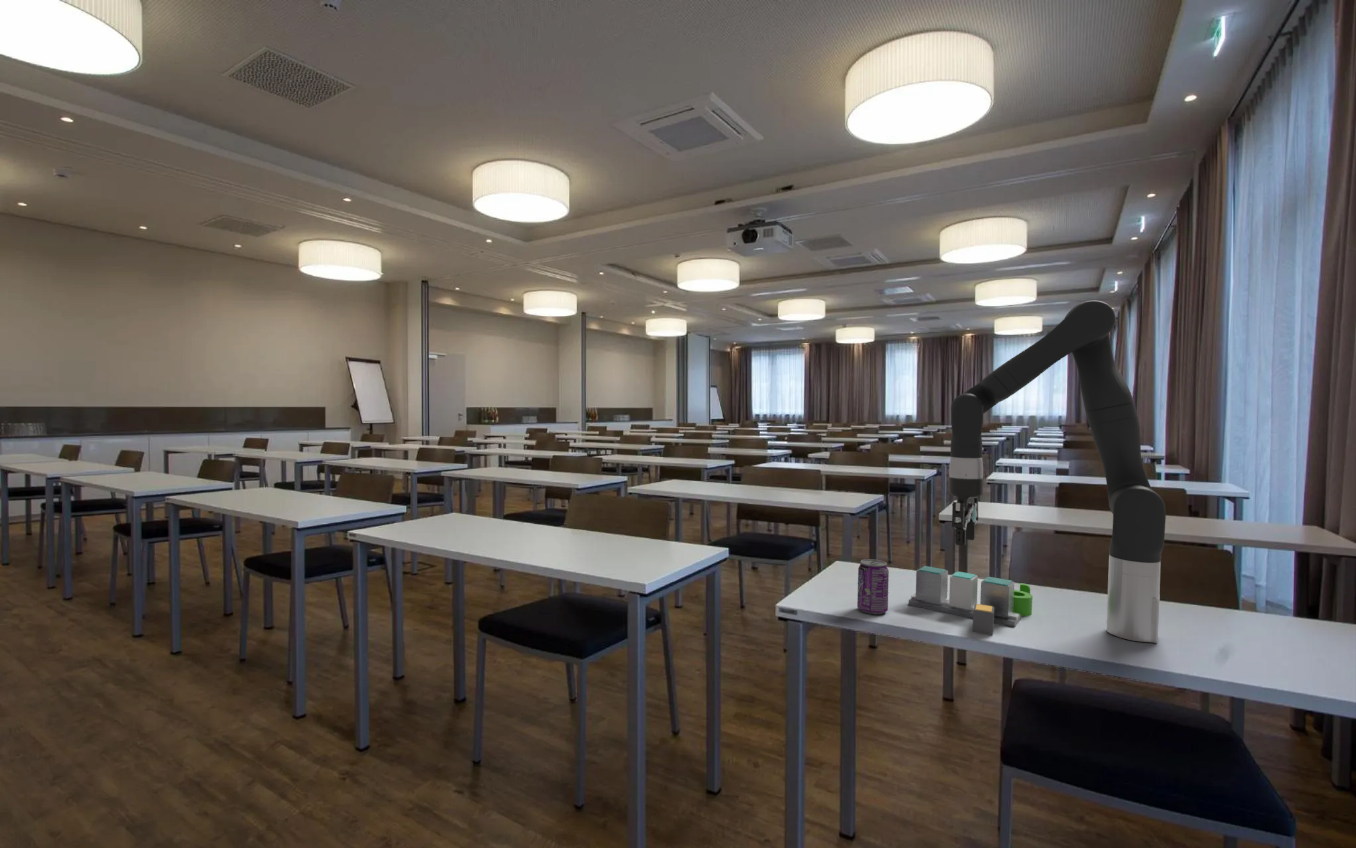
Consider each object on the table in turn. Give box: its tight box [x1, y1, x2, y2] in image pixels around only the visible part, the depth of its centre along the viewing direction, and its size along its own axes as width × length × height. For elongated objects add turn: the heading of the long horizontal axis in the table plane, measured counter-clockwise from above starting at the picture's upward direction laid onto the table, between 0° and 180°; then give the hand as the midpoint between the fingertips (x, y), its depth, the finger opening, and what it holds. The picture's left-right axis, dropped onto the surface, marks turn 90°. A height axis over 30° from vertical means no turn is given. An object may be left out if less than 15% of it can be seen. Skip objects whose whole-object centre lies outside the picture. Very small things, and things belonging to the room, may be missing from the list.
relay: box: [972, 603, 995, 636], centre depth 140 cm, size 4×5×5 cm
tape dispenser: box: [1013, 582, 1033, 617], centre depth 157 cm, size 15×7×5 cm, turn 151°
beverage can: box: [856, 558, 890, 615], centre depth 152 cm, size 7×7×12 cm
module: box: [948, 570, 979, 609], centre depth 152 cm, size 5×6×7 cm
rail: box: [908, 565, 1022, 628], centre depth 152 cm, size 24×7×9 cm, turn 51°
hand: (965, 542), depth 152 cm, fingers open, 8 cm apart
